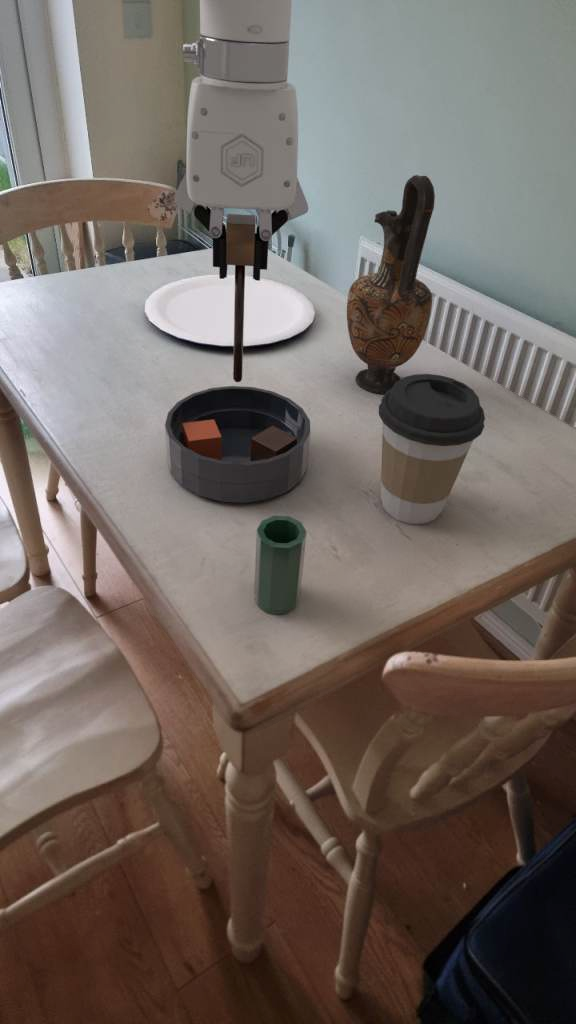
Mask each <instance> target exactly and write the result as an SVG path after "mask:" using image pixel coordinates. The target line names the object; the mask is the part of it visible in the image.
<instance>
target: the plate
mask: <svg viewBox="0 0 576 1024" xmlns="http://www.w3.org/2000/svg"><path fill="white" fill-rule="evenodd" d="M234 306H235V274H227V278H225V279H220V278H219V274H207V275H196V276H193V277H188V278H182V279H178V280H175V281H173V282H170V283H168V284H164V285H162V286H161V287H160V288H158V289H157V290H155V291H154V292H152V293H150V295H149V297H148V298H147V299H146V300H145V303H144V313H145V315H146V318H147V319H148V321H149V323H151V324H152V325H153V326H154V327H156V328H157V329H158V330H159V331H160V332H163V333H165V334H167V335H169V336H171V337H173V338H176V339H179V340H181V341H186V342H190V343H193V344H198V345H202V346H203V345H204V346H209V347H210V346H212V347H218V348H234ZM315 316H316V310H315V307H314V305H313V303H312V302H311V300H309V298H307V296H306V295H305V294H303V293H302V292H300V291H298V290H297V289H295V288H293V287H291V286H289V285H286V284H284V283H280V282H278V281H275V280H271V279H267V278H263V277H260V281H257V280H255V279H253V276H250V275H245V290H244V329H243V348H251V347H252V348H253V347H260V346H268V345H273V344H276V343H280V342H283V341H287V340H290V339H292V338H294V337H296V336H298V335H300V334H301V333H304V332H305V331H306V330H307V329H308V328H309V327H310V326H311V325H312V324H313V323H314V319H315Z"/></svg>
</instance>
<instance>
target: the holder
mask: <svg viewBox="0 0 576 1024" xmlns="http://www.w3.org/2000/svg"><path fill="white" fill-rule="evenodd" d="M306 541H307V530H306V529H305V526H304V524H303V522H301V521H300V520H298V519H295V518H294V517H291V516H290V515H272V516H270V517H268V518H265V519H263V520H262V521H261V522H260V524H259V525H258V527H257V529H256V540H255V560H254V561H255V564H254V589H253V594H254V601H255V603H256V605H257V607H258V608H259V609H260V610H261V611H263V612H265V613H267V614H270V615H275V616H276V615H278V616H279V615H285V614H288V613H291V612H292V611H293V610H295V608H297V607H298V604H299V600H300V596H301V591H302V582H303V581H302V580H303V572H304V560H305V553H306V552H305V551H306Z"/></svg>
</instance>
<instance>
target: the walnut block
mask: <svg viewBox="0 0 576 1024" xmlns="http://www.w3.org/2000/svg"><path fill="white" fill-rule="evenodd" d="M296 445H297V438H296V437H294V436H292V435H290V434H288V433H287V432H285V431H283V430H281V429H279V428H277V427H275V426H271V427H269V428H268V429H266V430H264V431H263V432H261V433H259V434H257V435H256V436H254V437H252V438H251V461H258V460H265V459H270V458H272V457H275V456H278V455H280V454H283V453H286V452H287V451H289V450H290V449H292V448H293V447H294V446H296Z"/></svg>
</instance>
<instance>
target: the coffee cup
mask: <svg viewBox="0 0 576 1024" xmlns="http://www.w3.org/2000/svg"><path fill="white" fill-rule="evenodd" d="M378 416H379V418H380V420H381V421H382V435H381V436H382V438H381V439H382V440H381V466H380V469H381V470H380V500H381V506H382V508H383V510H384V512H385V513H386V514H387V515H388V516H389V517H390V518H393V519H394V520H396V521H398V522H401V523H404V524H408V525H417V526H418V525H426V524H429V523H432V522H434V521H435V520H436V519H438V517H439V515H440V514H441V513H442V512H443V510H444V508H445V505H446V503H447V501H448V499H449V496H450V494H451V492H452V489H453V488H454V485H455V482H456V481H457V478H458V476H459V473H460V471H461V469H462V467H463V465H464V463H465V460H466V458H467V455H468V453H469V452H470V451H469V450H471V446H472V444H473V441H474V440H475V439H477V438H478V437H479V436H481V435H482V433H483V430H484V428H485V421H486V417H485V411H484V409H483V407H482V406H481V402H480V398H479V395H477V393H476V392H475V391H474V389H472V388H471V387H470V386H468V385H467V384H465V383H464V382H461V381H459V380H457V379H455V378H453V377H448V376H445V375H444V376H443V375H439V374H431V373H418V374H417V373H416V374H412V375H408V376H404V377H402V378H401V379H400V380H399V381H397V382H396V383H395V384H394V386H393V387H392V389H390V390H388V391H387V392H386V393H385V394H383V396H382V398H381V399H380V404H379V405H378Z"/></svg>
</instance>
